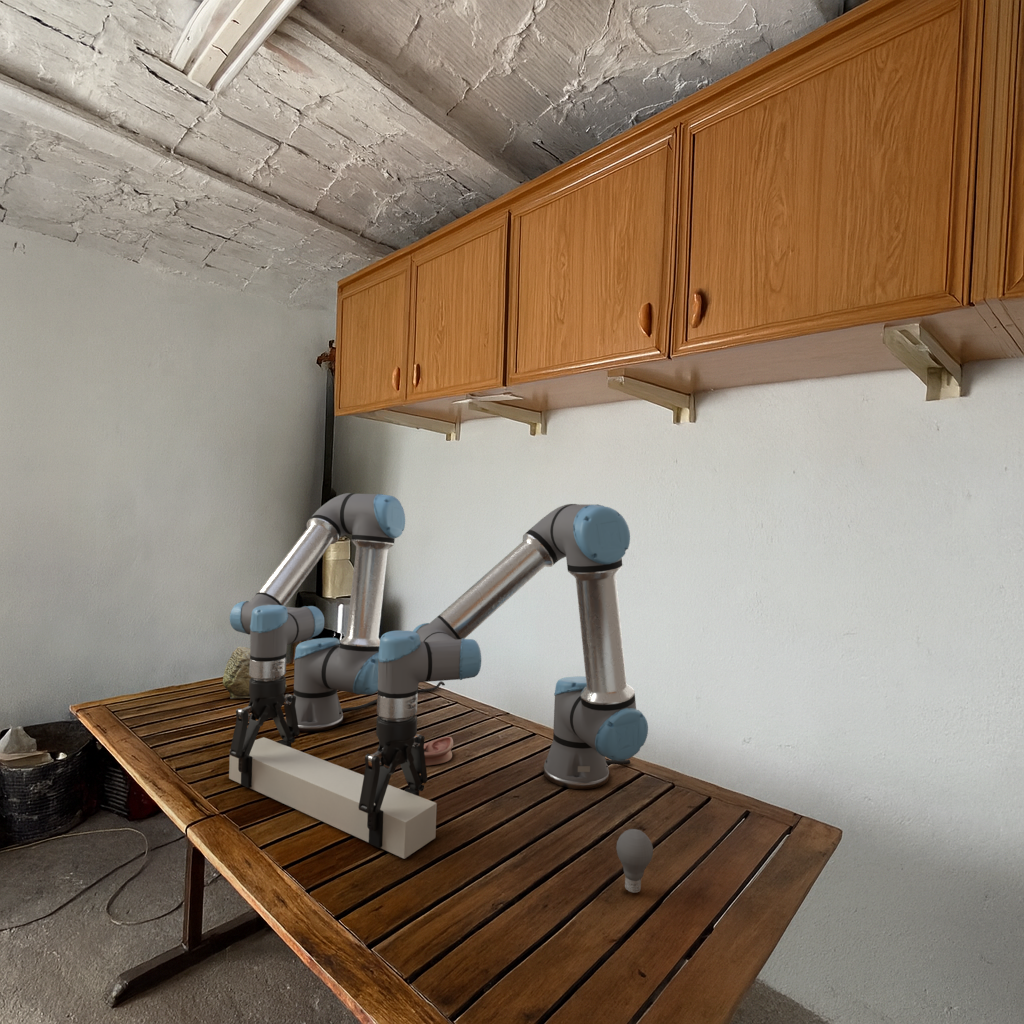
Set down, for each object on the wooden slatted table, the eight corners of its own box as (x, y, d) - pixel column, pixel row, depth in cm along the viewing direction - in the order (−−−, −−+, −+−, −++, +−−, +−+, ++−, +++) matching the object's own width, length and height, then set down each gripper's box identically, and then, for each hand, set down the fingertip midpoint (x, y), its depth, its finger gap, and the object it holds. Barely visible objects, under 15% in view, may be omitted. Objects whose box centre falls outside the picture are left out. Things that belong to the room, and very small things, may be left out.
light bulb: (610, 879, 108) (613, 822, 108) (644, 879, 109) (647, 822, 109) (619, 902, 102) (622, 840, 102) (655, 901, 103) (658, 840, 103)
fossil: (218, 695, 195) (220, 647, 195) (278, 685, 208) (279, 640, 207) (228, 703, 189) (230, 653, 188) (289, 692, 201) (290, 645, 201)
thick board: (228, 778, 140) (229, 748, 140) (263, 765, 147) (263, 737, 147) (404, 859, 112) (405, 822, 112) (435, 837, 119) (436, 802, 119)
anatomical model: (390, 746, 152) (408, 729, 163) (390, 762, 152) (407, 745, 163) (443, 753, 149) (457, 735, 160) (443, 770, 149) (457, 751, 160)
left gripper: (233, 691, 128) (231, 801, 129) (318, 669, 146) (315, 765, 147) (212, 684, 132) (209, 791, 133) (296, 663, 150) (294, 757, 151)
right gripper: (369, 737, 108) (365, 867, 108) (448, 704, 126) (444, 816, 126) (339, 726, 112) (335, 853, 112) (419, 696, 130) (416, 805, 130)
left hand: (265, 777), depth 140 cm, fingers closed on thick board, 9 cm apart
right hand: (393, 833), depth 119 cm, fingers closed on thick board, 9 cm apart
